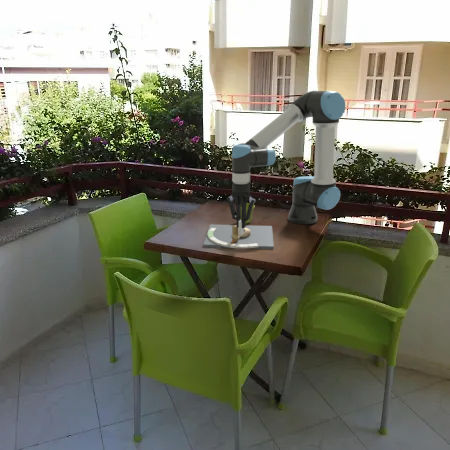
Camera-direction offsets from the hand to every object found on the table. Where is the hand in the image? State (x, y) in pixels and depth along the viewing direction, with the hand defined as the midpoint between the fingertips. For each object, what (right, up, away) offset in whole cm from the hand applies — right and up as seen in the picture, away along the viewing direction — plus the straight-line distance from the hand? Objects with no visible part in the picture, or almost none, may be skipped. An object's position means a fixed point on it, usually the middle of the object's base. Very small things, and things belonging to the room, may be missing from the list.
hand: (241, 234), depth 171 cm
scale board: (0, -2, +10) cm, 10 cm away
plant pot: (+4, +6, +32) cm, 32 cm away
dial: (-1, -1, +7) cm, 7 cm away
